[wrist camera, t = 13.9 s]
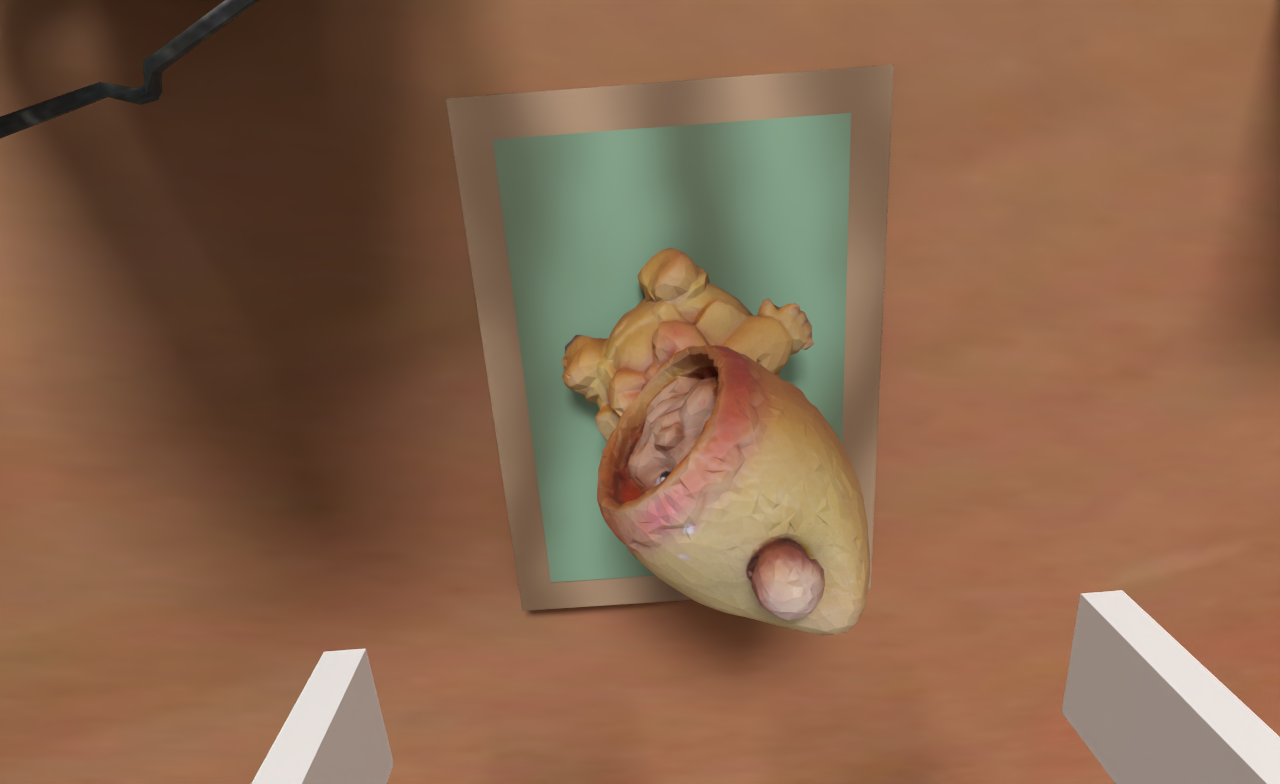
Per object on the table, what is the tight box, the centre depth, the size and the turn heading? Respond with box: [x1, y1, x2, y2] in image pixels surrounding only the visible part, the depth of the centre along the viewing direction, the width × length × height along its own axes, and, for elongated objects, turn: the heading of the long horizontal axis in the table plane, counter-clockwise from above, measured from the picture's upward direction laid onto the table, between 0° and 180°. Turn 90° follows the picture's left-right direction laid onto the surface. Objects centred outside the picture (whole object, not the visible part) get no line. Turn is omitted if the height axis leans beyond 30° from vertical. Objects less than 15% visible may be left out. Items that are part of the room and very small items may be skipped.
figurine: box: [562, 248, 870, 635], centre depth 24 cm, size 10×8×15 cm
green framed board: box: [446, 65, 894, 611], centre depth 31 cm, size 16×22×1 cm
